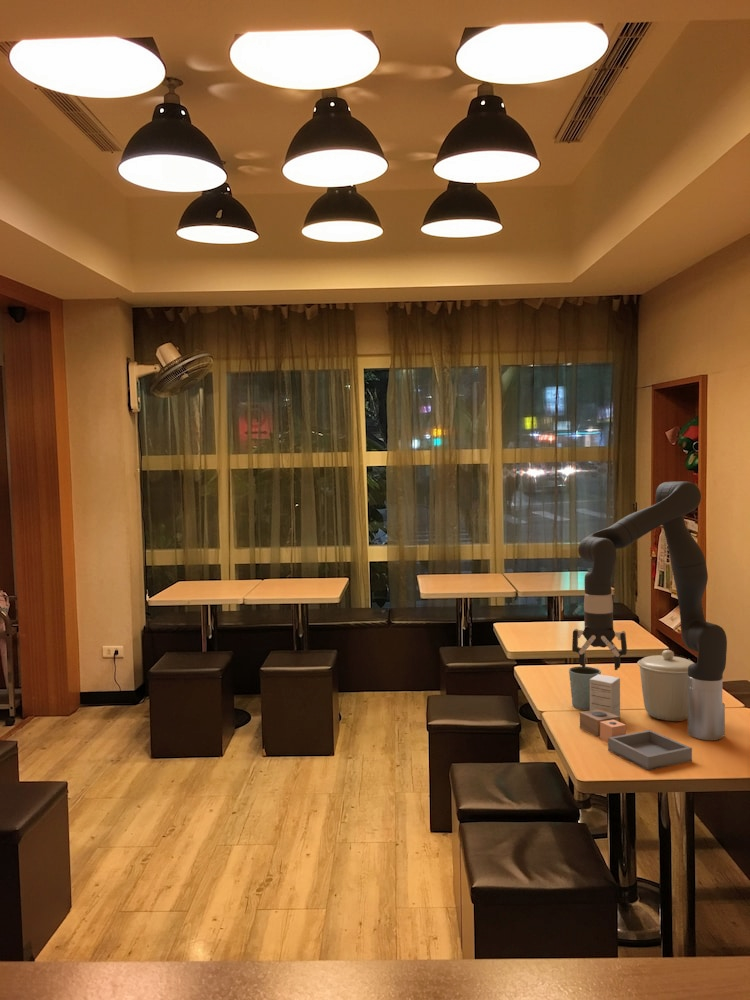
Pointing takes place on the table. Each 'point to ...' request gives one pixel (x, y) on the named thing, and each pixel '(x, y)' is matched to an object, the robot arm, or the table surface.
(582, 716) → the walnut block
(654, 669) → the canister
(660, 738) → the charcoal tray
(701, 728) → the robot arm
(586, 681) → the teal cup
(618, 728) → the terracotta block
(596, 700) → the supplement box
